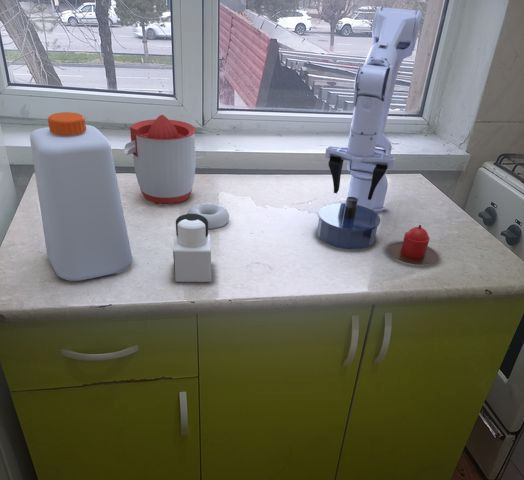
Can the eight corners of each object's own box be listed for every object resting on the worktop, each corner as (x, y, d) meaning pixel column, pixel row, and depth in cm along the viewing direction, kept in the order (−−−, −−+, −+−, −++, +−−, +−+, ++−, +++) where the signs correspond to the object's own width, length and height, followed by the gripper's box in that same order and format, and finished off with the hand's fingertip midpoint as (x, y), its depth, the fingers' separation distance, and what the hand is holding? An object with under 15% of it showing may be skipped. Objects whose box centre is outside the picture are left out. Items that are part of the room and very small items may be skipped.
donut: (181, 229, 119) (223, 234, 118) (180, 215, 117) (222, 220, 116) (194, 211, 127) (233, 216, 126) (193, 198, 125) (233, 203, 123)
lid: (353, 203, 125) (357, 183, 122) (392, 227, 116) (397, 206, 113) (305, 213, 119) (308, 192, 116) (342, 239, 110) (346, 216, 107)
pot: (350, 221, 128) (353, 202, 125) (385, 244, 119) (390, 224, 116) (305, 231, 122) (308, 211, 119) (340, 256, 113) (343, 235, 110)
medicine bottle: (176, 264, 106) (173, 209, 99) (211, 264, 107) (210, 210, 99) (174, 282, 101) (171, 225, 93) (211, 282, 101) (210, 226, 94)
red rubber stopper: (413, 245, 118) (420, 217, 114) (430, 255, 115) (438, 227, 111) (395, 249, 116) (402, 222, 112) (412, 260, 113) (420, 232, 108)
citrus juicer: (124, 188, 135) (114, 107, 122) (188, 183, 141) (185, 104, 128) (135, 213, 124) (126, 126, 111) (204, 206, 130) (203, 122, 117)
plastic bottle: (44, 252, 107) (11, 108, 89) (116, 239, 113) (98, 102, 95) (61, 287, 97) (26, 133, 79) (138, 271, 103) (123, 125, 85)
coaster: (412, 239, 122) (413, 237, 121) (447, 260, 115) (447, 258, 114) (377, 248, 117) (378, 246, 117) (411, 270, 110) (411, 268, 110)
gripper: (325, 130, 104) (316, 195, 113) (396, 142, 101) (382, 207, 109) (333, 122, 109) (324, 184, 118) (401, 132, 106) (387, 196, 115)
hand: (352, 194), depth 114 cm, fingers open, 7 cm apart
